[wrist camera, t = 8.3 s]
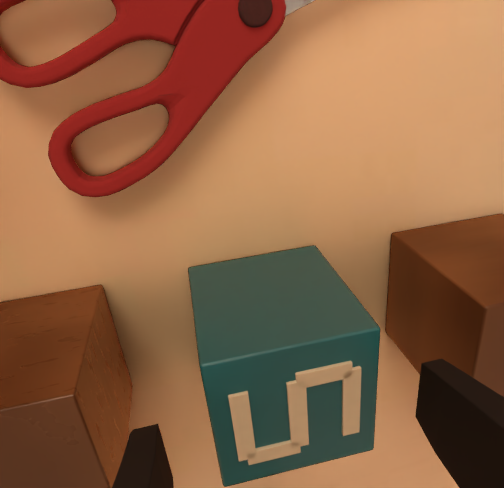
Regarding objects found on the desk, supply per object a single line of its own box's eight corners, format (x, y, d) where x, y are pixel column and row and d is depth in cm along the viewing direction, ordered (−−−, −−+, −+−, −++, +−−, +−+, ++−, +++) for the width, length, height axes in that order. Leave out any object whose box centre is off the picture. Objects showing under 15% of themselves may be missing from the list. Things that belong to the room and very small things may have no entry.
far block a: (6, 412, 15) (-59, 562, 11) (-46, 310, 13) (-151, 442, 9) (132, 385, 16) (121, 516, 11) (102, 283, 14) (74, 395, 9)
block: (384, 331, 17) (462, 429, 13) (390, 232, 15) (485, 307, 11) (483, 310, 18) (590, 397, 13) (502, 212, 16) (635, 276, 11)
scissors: (-44, 8, 10) (-64, 4, 9) (480, -239, 10) (511, -268, 9) (84, 201, 12) (79, 212, 11) (502, 4, 12) (528, 0, 11)
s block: (206, 368, 16) (224, 492, 12) (187, 266, 14) (199, 368, 10) (318, 344, 17) (376, 453, 12) (315, 244, 15) (383, 330, 10)
